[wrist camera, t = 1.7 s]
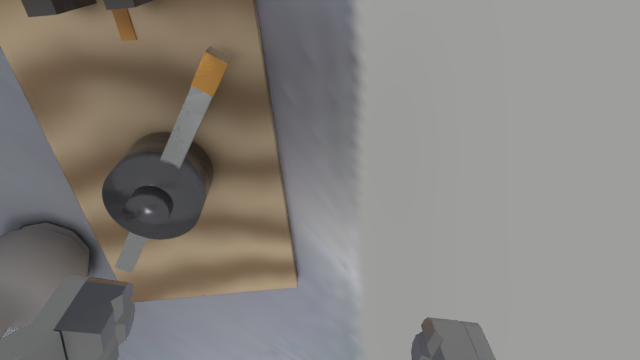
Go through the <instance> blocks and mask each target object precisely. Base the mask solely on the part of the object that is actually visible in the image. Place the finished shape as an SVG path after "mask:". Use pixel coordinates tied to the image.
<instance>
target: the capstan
mask: <svg viewBox="0 0 640 360" xmlns="http://www.w3.org/2000/svg"><path fill="white" fill-rule="evenodd" d="M231 59H232V58H231V57H230V56H228V55H226V54H224V53H222V52H220V51H219V50H217V49H215V48H213V47H211V46H209V48H208V49H207V50H206V51H205V53H204V55H203V58H202V60H201V62H200V65H199V67H198V69H197V72H196V74H195V76H194V79H193V81H192V83H191V88H190V91H189V93H188V95H187V98H186V100H185V102H184V105H183V107H182V109H181V112H180V114H179V116H178V119H177V121H176V124H175V126H174V128H173V131H172V133H169V132H156V133H151V134H148V135H146V136H144V137H142V138H140V139H139V140H137V141H136V142H135V143H134V144H133V146H132V147H131V148H130V149H129V150H128V152H127V153H126V154H125V155H124V157H123V158H122V159H121V160H120V161H119V163H118V164H117V165H116V166H115V167H114V169H113V170H112V171H111V172H110V173H109V175H108V176H107V178H106V179H105V181H104V183H103V187H102V199H103V203H104V206H105V208H106V210H107V211H108V213H109V215H110V216H111V217H112V218H113V219H114V220H115V221H116V222H117V223H118V224H119V225H120V226H121V227H123V228H124V229H126V230H128V231H129V234H128V236H127V239H126V241H125V243H124V246H123V248H122V251H121V253H120V255H119V258H118V260H117V262H116V265H115V268H118V269H121V270H124V271H127V272H130V273H132V271H133V269H134V267H135V265H136V263H137V261H138V259H139V257H140V255H141V252H142V250H143V248H144V246H145V244H146V242H147V239H148V238H149V239H160V240H163V239H172V238H176V237H179V236H181V235H184V234H185V233H187V232H189V231H190V230H191V229H192V228H193V227H194V226H195V225H196V223H197V222H198V220H199V217H200V215H201V212H202V209H203V206H204V204H205V201H206V198H207V195H208V193H209V190H210V187H211V184H212V181H213V168H212V164H211V161H210V159H209V157H208V156H207V154H206V153H205V151H204V150H203V149H202V148H201V147H200V146H199V145H197V144H196V143H195V142H193V139H194V137H195V135H196V133H197V131H198V129H199V126H200V124H201V122H202V120H203V118H204V116H205V113H206V111H207V109H208V107H209V105H210V102H211V100H212V98H213V96H214V95H215V93H216V91H217V89H218V87H219V85H220V83H221V81H222V78H223V76H224V74H225V72H226V70H227V67H228V65H229V63H230V61H231Z"/></svg>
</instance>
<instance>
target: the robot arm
mask: <svg viewBox="0 0 640 360" xmlns="http://www.w3.org/2000/svg"><path fill="white" fill-rule="evenodd" d="M132 294H133V284H132V283H128V282H121V281H114V280H107V279H100V278H93V277H85V276H77V275H69V276H68V277H66V278H65V279H64V280H63V281H62V282H61V284H60V285H59V287H58V288H57V289H56V291H55V292H54V293H53V295H52V296H51V297H50V299H49V300H48V302H47V303H46V304H45V306H44V307H43V308H42V310H41V311H40V313H39V314H38V315H37V317H36V318H35V319H34V321H33V322H32V323H31V325H30V326H29V328H20V329H18V330H17V331H15V332H13V333H11V334H10V335H8V336H6V337H4V338H3V339H1V340H0V360H117V359H118V356H119V352H118V345H120V344H121V343H123V342H124V341H125V340H126V339H127V337H128V334H129V332H130V330H131V326H132V323H133V319H134V312H135V306H134V303H133V302H132V301H131V300H130V299H131V297H132ZM421 327H422V330H423V331H422V332H421V333H419V334H417V335H416V336H415V339H414V341H413V343H412V351H411V354H412V360H496V359H495V357H494V355H493V353H492V350H491V348H490V346H489V344H488V341H487V339H486V337H485V335H484V333H483V330H482V328H481V326H480V325H479V324H478V323H472V322H463V321H457V320H448V319H438V318H429V317H428V318H426V319H425V320H424V321H423V323H422V325H421Z"/></svg>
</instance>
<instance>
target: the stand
mask: <svg viewBox="0 0 640 360" xmlns="http://www.w3.org/2000/svg"><path fill="white" fill-rule="evenodd" d="M0 46H1V48H2V50H3V52H4V54H5V56H6V58H7V60H8V62H9V64H10V66H11V68H12V70H13V72H14V74H15V76H16V78H17V80H18V82H19V84H20V86H21V88H22V90H23V92H24V94H25V96H26V98H27V100H28V102H29V104H30V106H31V108H32V110H33V112H34V114H35V116H36V118H37V120H38V122H39V124H40V126H41V128H42V130H43V132H44V134H45V136H46V138H47V140H48V142H49V144H50V146H51V148H52V150H53V152H54V154H55V156H56V158H57V160H58V162H59V164H60V166H61V168H62V170H63V172H64V174H65V176H66V178H67V180H68V182H69V184H70V186H71V188H72V190H73V192H74V194H75V196H76V198H77V200H78V202H79V204H80V206H81V208H82V210H83V212H84V214H85V216H86V218H87V220H88V222H89V224H90V226H91V228H92V230H93V232H94V234H95V236H96V238H97V240H98V242H99V244H100V246H101V248H102V250H103V252H104V254H105V256H106V258H107V260H108V262H109V264H110V266H111V268H112V270H113V272H114V274H115V276H116V278H117V280H118V281H121V282H128V283H132V284H133V294H132V297H131V299H130V300H131V301H132V302H140V301H151V300H162V299H173V298H183V297H194V296H205V295H216V294H227V293H238V292H249V291H259V290H270V289H281V288H292V287H298V276H297V269H296V263H295V256H294V250H293V243H292V237H291V230H290V224H289V217H288V211H287V204H286V198H285V191H284V184H283V178H282V171H281V165H280V158H279V152H278V145H277V139H276V132H275V126H274V119H273V113H272V106H271V100H270V93H269V86H268V80H267V73H266V67H265V60H264V54H263V47H262V41H261V34H260V28H259V21H258V15H257V8H256V2H255V0H0ZM209 46H211V47H213V48H215V49H217V50H219V51H220V52H222V53H224V54H226V55H228V56H230V57H231V58H232V59H231V61H230V63H229V65H228V67H227V70H226V72H225V74H224V76H223V78H222V81H221V83H220V85H219V87H218V89H217V91H216V93H215V95H214V96H213V98H212V100H211V102H210V105H209V107H208V109H207V111H206V113H205V116H204V118H203V120H202V122H201V124H200V126H199V129H198V131H197V133H196V135H195V137H194V139H193V142H195V143H196V144H197V145H199V146H200V147H201V148H202V149H203V150H204V151H205V153H206V154H207V156H208V157H209V159H210V161H211V164H212V168H213V181H212V184H211V187H210V190H209V193H208V195H207V198H206V201H205V204H204V206H203V209H202V212H201V215H200V217H199V220H198V222H197V223H196V225H195V226H194V227H193V228H192V229H191V230H190V231H189V232H187V233H185V234H184V235H181V236H179V237H176V238H172V239H163V240H160V239H149V238H148V239H147V242H146V244H145V246H144V248H143V250H142V252H141V255H140V257H139V259H138V261H137V263H136V265H135V267H134V269H133V271H132V273H130V272H127V271H124V270H121V269H118V268H115V265H116V262H117V260H118V258H119V255H120V253H121V251H122V248H123V246H124V243H125V241H126V239H127V236H128V234H129V231H128V230H126V229H124V228H123V227H121V226H120V225H119V224H118V223H117V222H116V221H115V220H114V219H113V218H112V217H111V216H110V215H109V213H108V211H107V210H106V208H105V206H104V203H103V199H102V187H103V183H104V181H105V179H106V178H107V176H108V175H109V173H110V172H111V171H112V170H113V169H114V167H115V166H116V165H117V164H118V163H119V161H120V160H121V159H122V158H123V157H124V155H125V154H126V153H127V152H128V150H129V149H130V148H131V147H132V146H133V144H134V143H135V142H136V141H137V140H139V139H140V138H142V137H144V136H146V135H148V134H151V133H156V132H169V133H172V131H173V128H174V126H175V124H176V121H177V119H178V116H179V114H180V112H181V109H182V107H183V105H184V102H185V100H186V98H187V95H188V93H189V91H190V88H191V83H192V81H193V79H194V76H195V74H196V72H197V69H198V67H199V65H200V62H201V60H202V58H203V55H204V53H205V51H206V50H207V49H208V48H209Z"/></svg>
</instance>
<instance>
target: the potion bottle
mask: <svg viewBox="0 0 640 360" xmlns="http://www.w3.org/2000/svg"><path fill="white" fill-rule="evenodd" d="M89 250H90V248H89V247H88V245H87V244H86V243H85V242H84V241H83V240H82V239H81V238H80V237H79V236H78V235H77V234H76V233H75V232H74V231H73V230H70V229H67V228H64V227H61V226H58V225H55V224H52V223H49V222H43V223H38V224H33V225H27V226H23V228H22V229H20V230H14V231H10V232H8V233H6V234H4V235H3V236H1V237H0V338H1V337H2V336H3V334H4V333H5V332H6V330H7V329H8V328H9V326H18V327H29V326H30V325H31V323H32V322H33V321H34V319H35V318H36V317H37V315H38V314H39V313H40V311H41V310H42V308H43V307H44V306H45V304H46V303H47V302H48V300H49V299H50V297H51V296H52V295H53V293H54V292H55V291H56V289H57V288H58V287H59V285H60V284H61V282H62V281H63V280H64V279H65V278H66V277H68V276H69V275H77V276H85V277H88V268H89Z"/></svg>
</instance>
